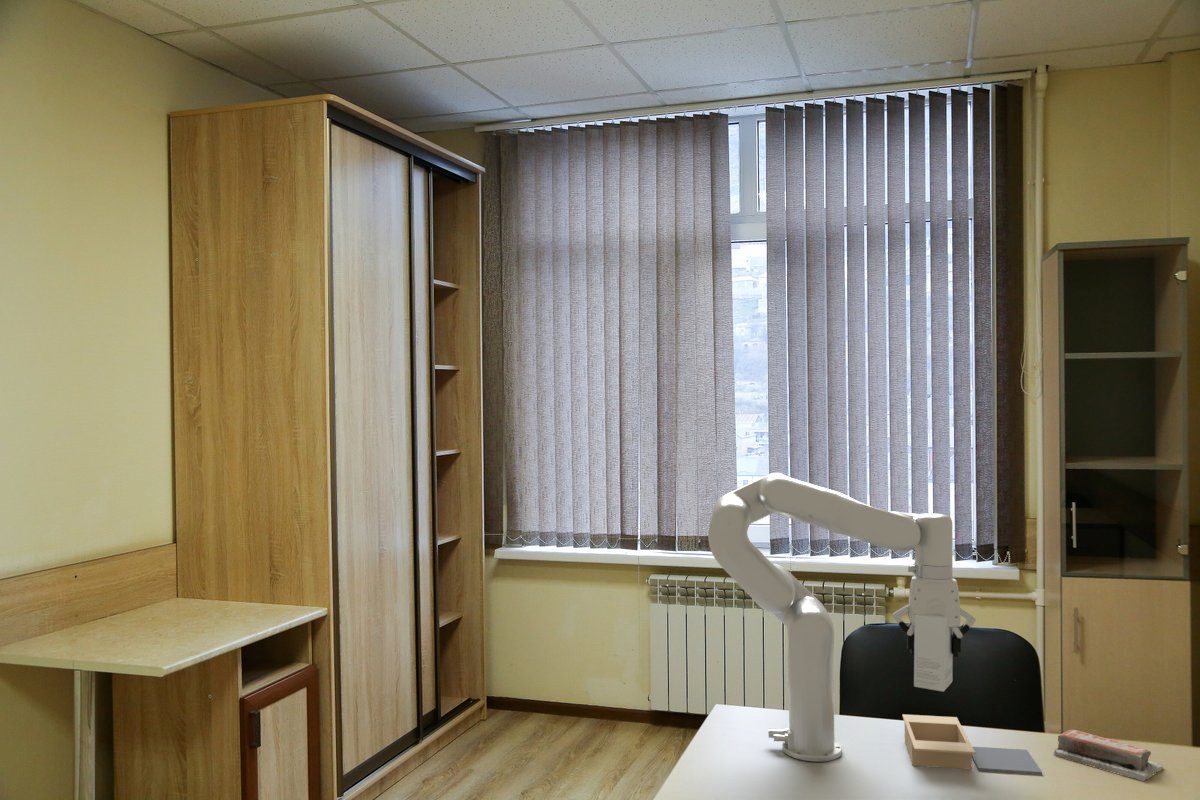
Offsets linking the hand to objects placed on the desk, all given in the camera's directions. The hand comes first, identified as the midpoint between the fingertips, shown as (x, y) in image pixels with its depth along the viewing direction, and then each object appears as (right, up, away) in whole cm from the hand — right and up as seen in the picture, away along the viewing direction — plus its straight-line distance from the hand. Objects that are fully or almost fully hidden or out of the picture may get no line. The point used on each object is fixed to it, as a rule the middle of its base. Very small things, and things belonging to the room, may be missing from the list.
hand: (933, 653), depth 194 cm
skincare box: (0, -7, 0) cm, 7 cm away
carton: (+1, -22, 0) cm, 22 cm away
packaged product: (+34, -22, -5) cm, 41 cm away
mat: (+13, -21, -4) cm, 25 cm away
